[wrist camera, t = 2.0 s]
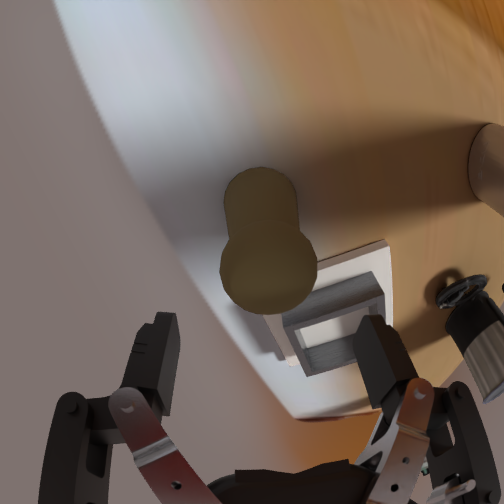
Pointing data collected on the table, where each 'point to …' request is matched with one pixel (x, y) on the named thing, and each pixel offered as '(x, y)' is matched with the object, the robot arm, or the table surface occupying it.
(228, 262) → the cork
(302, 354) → the socket collar
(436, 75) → the table surface
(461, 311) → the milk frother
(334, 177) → the table surface
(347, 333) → the socket base
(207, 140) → the table surface
